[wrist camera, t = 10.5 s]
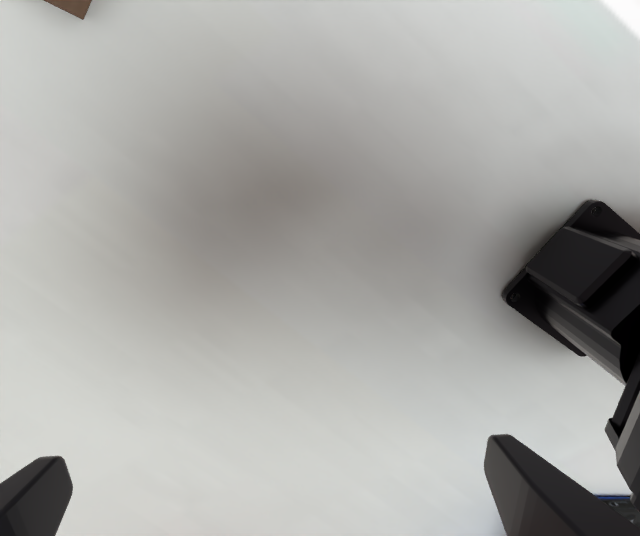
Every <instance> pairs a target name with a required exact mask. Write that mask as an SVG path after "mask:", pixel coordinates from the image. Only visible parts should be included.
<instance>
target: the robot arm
mask: <svg viewBox="0 0 640 536" xmlns="http://www.w3.org/2000/svg"><path fill="white" fill-rule="evenodd" d="M594 207H596V211H595V212H594V213H593V214H591V211H592V209H593V208H594ZM514 293H516V296H515V297H514V298H513V299H511V296H512V295H513V294H514ZM502 298H503V300H504V301H505V302H506V303H507V304H508V305H509V306H511V307H512V308H514V309H515V310H516V311H518V312H519V313H521V314H522V315H523V316H525V317H526V318H527V319H529V320H530V321H532V322H533V323H534V324H536V325H537V326H538V327H540V328H541V329H543V330H544V331H545V332H547V333H548V334H550V335H551V336H552V337H554V338H555V339H556V340H558V341H559V342H561V343H562V344H563V345H565V346H566V347H568V348H569V349H570V350H572V351H573V352H574V353H576V354H577V355H579V356H589V357H590V358H591V359H592V360H594V361H595V362H596V363H597V364H599V365H600V366H601V367H602V368H604V369H605V370H606V371H607V372H609V373H610V374H611V375H612V376H614V377H615V378H616V379H617V380H619V381H620V382H621V383H622V384H624V385H625V389H624V391H623V393H622V396H621V398H620V401H619V403H618V406H617V408H616V411H615V413H614V416H613V418H609V420H608V422H607V425H606V427H605V432H606V434H607V436H608V438H609V440H610V441H611V443H612V445H613V447H614V449H615V451H616V460H617V467H618V468H619V470H620V472H621V474H622V476H623V477H624V479H625V481H626V483H627V485H628V487H629V488H630V490H631V491H632V492H633V493H632V495H631V497H630V501H631V502H632V504H633V505H634V507H635V508H636V509H637V510H638V511H639V512H640V234H639V233H638V232H637V231H636V230H635V229H633V228H632V227H631V226H630V225H629V224H628V223H627V222H625V221H624V220H623V219H622V218H621V217H620V216H619V215H618V214H616V213H615V212H614V211H613V210H612V209H611V208H610V207H608V206H607V205H606V204H605V203H603V202H602V201H598V200H590V201H587V202H586V203H585V204H584V205H583V206H582V207H581V208H580V209H579V210H578V211H577V212H576V213H575V214H574V215H573V216H572V218H571V219H570V220H569V221H568V222H567V223H566V224H565V225H564V226H563V227H562V228H561V229H560V230H559V231H558V232H557V233H556V234H555V235H554V236H553V237H552V238H551V239H550V240H549V241H548V243H547V244H546V245H545V246H544V247H543V248H542V249H541V250H540V251H539V252H538V253H537V254H536V255H535V257H534V258H533V259H532V260H531V261H530V262H529V263H528V264H527V266H526V267H525V268H524V269H523V270H522V272H521V273H520V274H519V275H518V276H517V277H516V278H515V279H514V280H513V281H512V282H511V283H510V284H509V286H508V287H507V288H506V289H505V290H504V292H503V294H502ZM484 471H485V475H486V478H487V481H488V484H489V487H490V489H491V492H492V495H493V498H494V501H495V503H496V506H497V509H498V512H499V515H500V517H501V520H502V523H503V526H504V529H505V531H506V534H507V536H640V528H639V527H638V526H636V525H635V524H633V523H632V522H631V521H629V520H628V519H626V518H625V517H624V516H622V515H621V514H620V513H618V512H617V511H615V510H614V509H613V508H611V507H610V506H608V505H607V504H606V503H604V502H603V501H602V500H600V499H599V498H597V497H596V496H595V495H593V494H592V493H590V492H589V491H588V490H586V489H585V488H583V487H582V486H581V485H579V484H578V483H577V482H575V481H574V480H572V479H571V478H570V477H568V476H567V475H565V474H564V473H563V472H561V471H560V470H558V469H557V468H556V467H554V466H553V465H552V464H550V463H549V462H547V461H546V460H545V459H543V458H542V457H540V456H539V455H538V454H536V453H535V452H533V451H532V450H531V449H529V448H528V447H527V446H525V445H524V444H522V443H521V442H520V441H518V440H517V439H515V438H514V437H513V436H511V435H508V434H501V435H491V436H490V437H489V438H488V442H487V448H486V454H485V460H484ZM72 491H73V484H72V481H71V478H70V475H69V472H68V469H67V466H66V463H65V460H64V459H63V458H62V457H61V456H46V457H40V458H38V459H36V460H34V461H33V462H31V463H30V464H28V465H27V466H25V467H24V468H23V469H21V470H20V471H18V472H17V473H15V474H14V475H12V476H11V477H9V478H8V479H6V480H5V481H3V482H2V483H0V536H55V535H56V532H57V530H58V528H59V525H60V523H61V520H62V518H63V516H64V513H65V511H66V508H67V506H68V503H69V501H70V499H71V496H72Z"/></svg>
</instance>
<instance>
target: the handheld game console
mask: <svg viewBox="0 0 640 536" xmlns="http://www.w3.org/2000/svg"><path fill="white" fill-rule="evenodd" d="M630 497H631V496H629V497H597V498H599V499H600V500H602V501H603V502H604V503H606V504H607V505H608V506H610V507H611V508H613V509H614V510H615V511H617V512H618V513H620V514H621V515H622V516H624V517H625V518H626V519H628V520H629V521H631V522H632V523H633V524H635V525H636V526H638V527H639V528H640V512H639V511H638V510H637V509H636V508H635V507H634V505H633V504H632V502H631V501H630Z"/></svg>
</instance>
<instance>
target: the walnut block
mask: <svg viewBox="0 0 640 536" xmlns="http://www.w3.org/2000/svg"><path fill="white" fill-rule="evenodd" d="M44 1H46V2H48V3H50V4H52V5H54V6H56V7H58V8H60V9H63V10H65V11H67V12H69V13H71V14H73V15H75V16H77V17H79V18H81V19H84V17H85V15H86V12H87V10H88V8H89V5H90V3H91V1H92V0H44Z"/></svg>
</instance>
